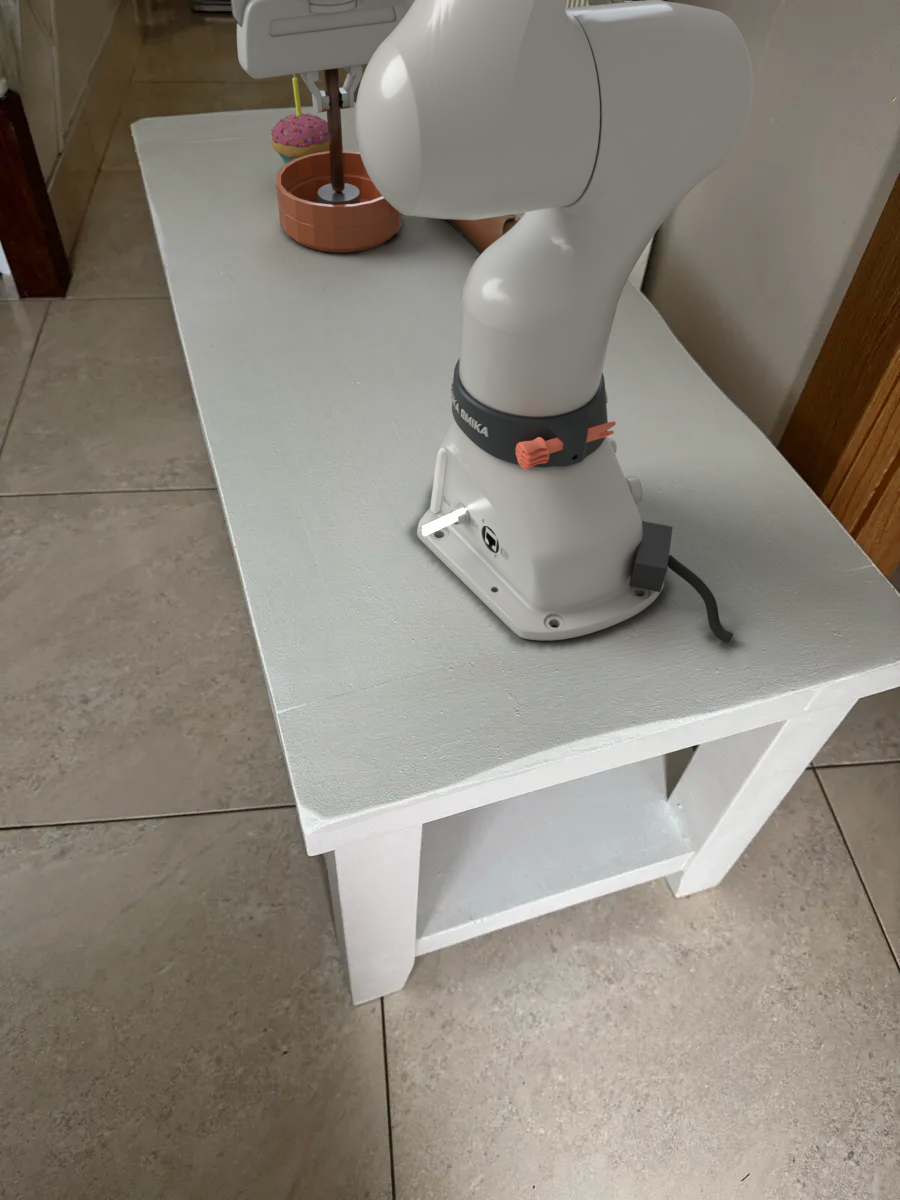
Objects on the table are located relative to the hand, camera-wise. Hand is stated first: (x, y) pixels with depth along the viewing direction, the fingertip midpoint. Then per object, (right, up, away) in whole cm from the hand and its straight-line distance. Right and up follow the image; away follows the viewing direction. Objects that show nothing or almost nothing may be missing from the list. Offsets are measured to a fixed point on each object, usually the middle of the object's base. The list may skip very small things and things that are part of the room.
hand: (333, 108), depth 107 cm
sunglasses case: (+18, -11, +9) cm, 24 cm away
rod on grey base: (0, -8, +9) cm, 12 cm away
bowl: (0, -9, +10) cm, 14 cm away
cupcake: (-6, +2, +20) cm, 21 cm away
